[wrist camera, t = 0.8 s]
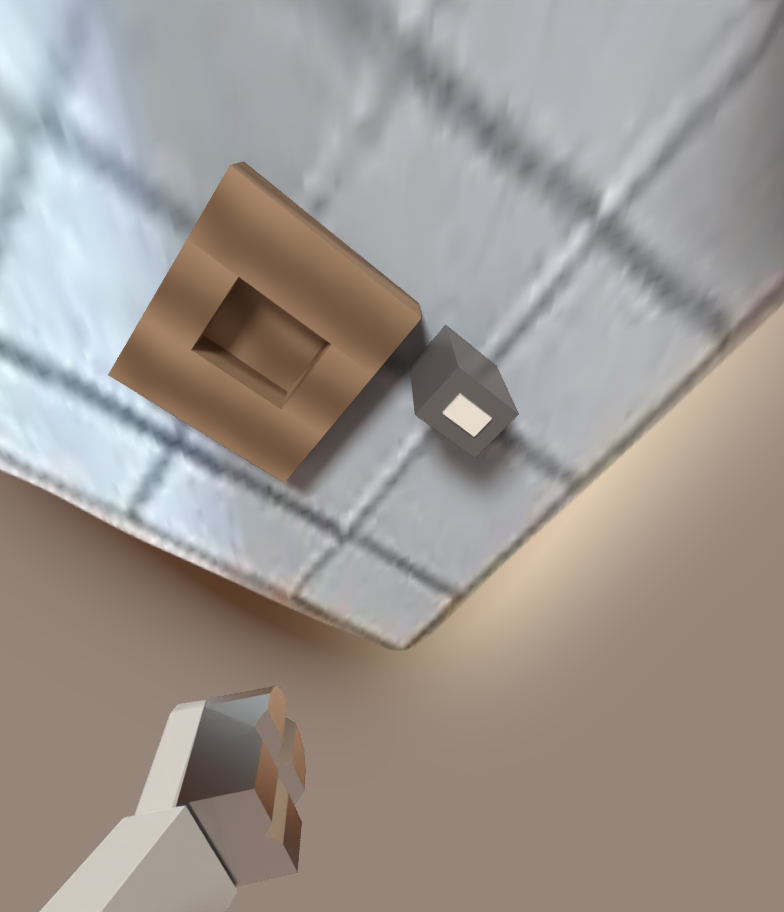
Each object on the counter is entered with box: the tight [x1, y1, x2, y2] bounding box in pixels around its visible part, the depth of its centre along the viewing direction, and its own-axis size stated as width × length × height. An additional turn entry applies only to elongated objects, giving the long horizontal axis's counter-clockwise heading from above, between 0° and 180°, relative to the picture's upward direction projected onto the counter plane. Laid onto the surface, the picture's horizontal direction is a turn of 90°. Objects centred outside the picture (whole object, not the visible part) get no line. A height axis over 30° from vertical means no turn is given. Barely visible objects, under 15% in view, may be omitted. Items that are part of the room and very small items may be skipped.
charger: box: [410, 325, 519, 458], centre depth 38 cm, size 4×5×8 cm
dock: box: [108, 162, 421, 483], centre depth 39 cm, size 16×14×4 cm
